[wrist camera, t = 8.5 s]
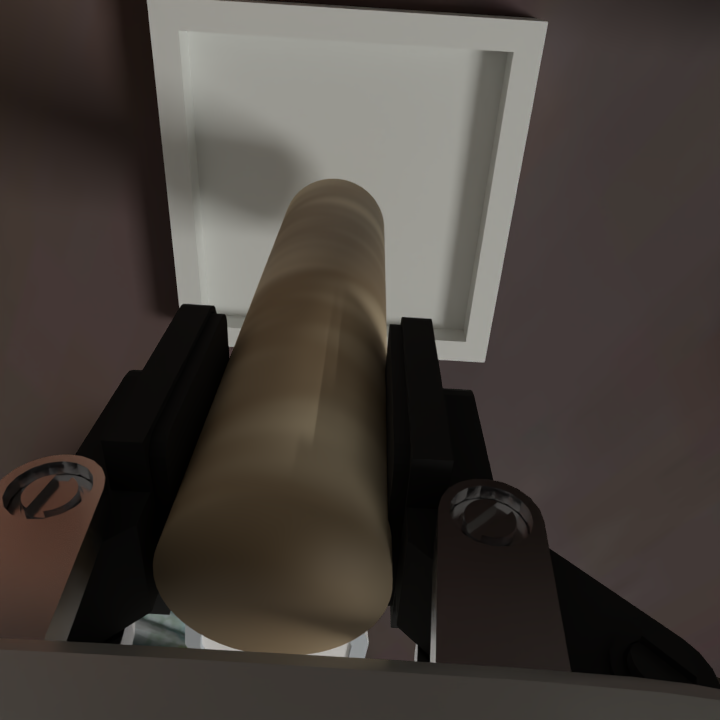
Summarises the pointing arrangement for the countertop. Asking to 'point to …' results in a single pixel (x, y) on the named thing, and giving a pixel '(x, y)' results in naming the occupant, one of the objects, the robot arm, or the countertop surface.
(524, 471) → the countertop surface
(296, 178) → the tray
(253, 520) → the dowel
